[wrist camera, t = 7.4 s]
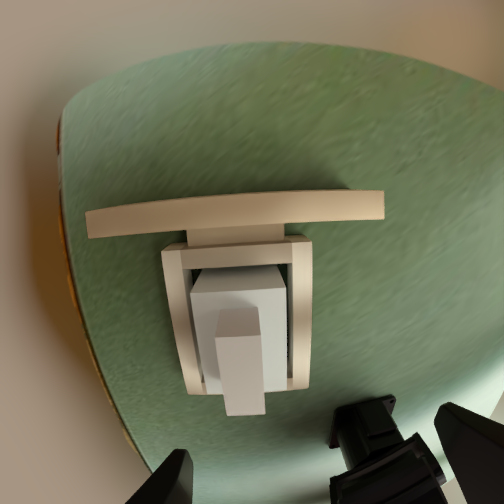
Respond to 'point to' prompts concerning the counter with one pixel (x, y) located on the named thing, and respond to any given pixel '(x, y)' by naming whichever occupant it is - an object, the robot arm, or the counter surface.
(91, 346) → the counter surface
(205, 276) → the grey stepped block
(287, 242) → the stand
